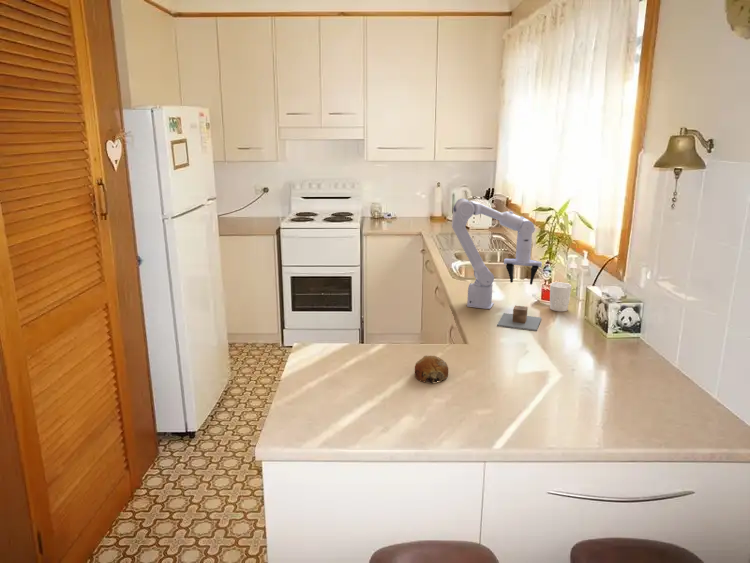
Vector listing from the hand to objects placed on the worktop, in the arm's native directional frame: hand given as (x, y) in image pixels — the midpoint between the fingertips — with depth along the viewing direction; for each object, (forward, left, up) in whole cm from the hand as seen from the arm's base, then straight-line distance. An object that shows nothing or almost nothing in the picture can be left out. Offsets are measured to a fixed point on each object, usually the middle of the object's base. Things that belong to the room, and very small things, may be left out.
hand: (521, 283), depth 226 cm
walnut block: (+3, -21, -9) cm, 23 cm away
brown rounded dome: (-14, -78, -10) cm, 80 cm away
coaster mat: (+3, -21, -9) cm, 23 cm away
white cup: (+15, +1, -10) cm, 18 cm away
